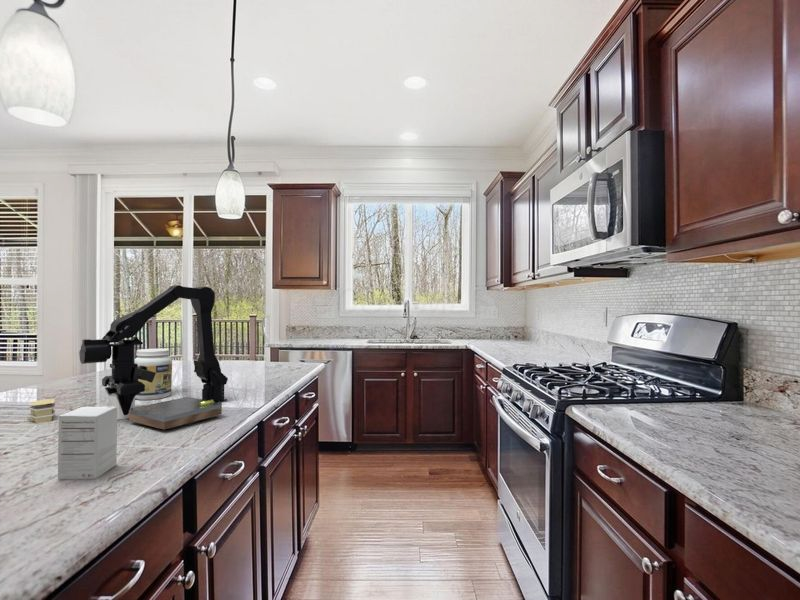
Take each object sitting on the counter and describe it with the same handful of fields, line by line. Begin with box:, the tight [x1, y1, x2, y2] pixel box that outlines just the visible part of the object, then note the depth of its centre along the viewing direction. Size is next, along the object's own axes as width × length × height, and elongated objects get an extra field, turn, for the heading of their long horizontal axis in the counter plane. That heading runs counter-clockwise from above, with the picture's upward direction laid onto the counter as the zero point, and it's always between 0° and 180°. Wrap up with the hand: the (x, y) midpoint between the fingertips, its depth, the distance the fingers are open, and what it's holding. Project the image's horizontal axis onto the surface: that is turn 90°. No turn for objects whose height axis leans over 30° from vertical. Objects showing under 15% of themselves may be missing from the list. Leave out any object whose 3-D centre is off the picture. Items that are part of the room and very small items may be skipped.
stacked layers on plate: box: [28, 398, 56, 424], centre depth 123 cm, size 10×9×6 cm
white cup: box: [108, 392, 136, 420], centre depth 127 cm, size 7×7×7 cm
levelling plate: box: [129, 396, 223, 422], centre depth 124 cm, size 18×16×2 cm
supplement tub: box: [135, 347, 173, 401], centre depth 153 cm, size 12×12×17 cm
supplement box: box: [57, 406, 118, 480], centre depth 87 cm, size 7×7×13 cm
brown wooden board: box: [128, 407, 223, 430], centre depth 124 cm, size 18×16×3 cm
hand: (122, 412), depth 127 cm, fingers closed on white cup, 6 cm apart
